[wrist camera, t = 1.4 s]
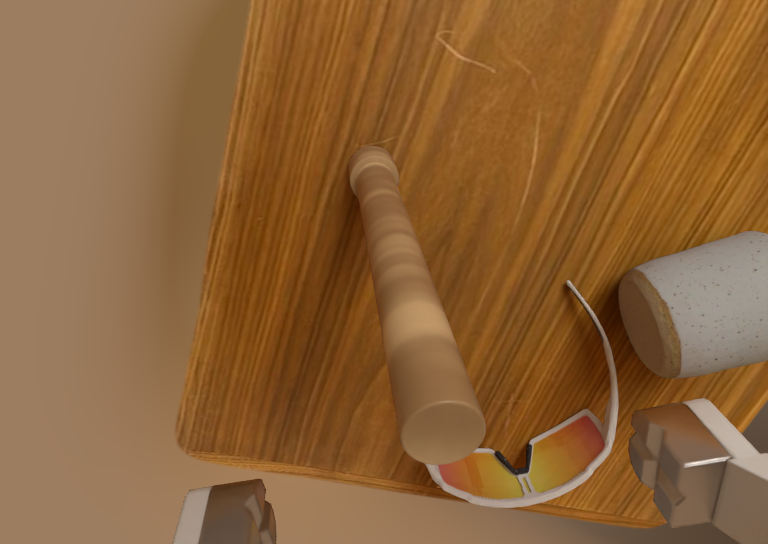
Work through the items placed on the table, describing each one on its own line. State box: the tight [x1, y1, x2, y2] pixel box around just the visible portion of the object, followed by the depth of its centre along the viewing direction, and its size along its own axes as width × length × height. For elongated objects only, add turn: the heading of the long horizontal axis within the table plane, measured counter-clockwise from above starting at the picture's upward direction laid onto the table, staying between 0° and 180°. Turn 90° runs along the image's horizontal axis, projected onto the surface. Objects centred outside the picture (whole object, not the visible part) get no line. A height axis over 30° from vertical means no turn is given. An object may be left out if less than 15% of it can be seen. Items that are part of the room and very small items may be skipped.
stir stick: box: [348, 146, 486, 465], centre depth 21 cm, size 3×3×20 cm
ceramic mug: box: [618, 231, 768, 378], centre depth 33 cm, size 11×8×8 cm
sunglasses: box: [425, 280, 618, 508], centre depth 37 cm, size 14×15×5 cm
